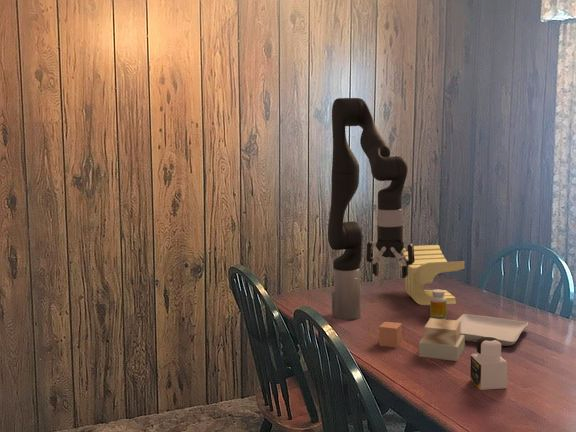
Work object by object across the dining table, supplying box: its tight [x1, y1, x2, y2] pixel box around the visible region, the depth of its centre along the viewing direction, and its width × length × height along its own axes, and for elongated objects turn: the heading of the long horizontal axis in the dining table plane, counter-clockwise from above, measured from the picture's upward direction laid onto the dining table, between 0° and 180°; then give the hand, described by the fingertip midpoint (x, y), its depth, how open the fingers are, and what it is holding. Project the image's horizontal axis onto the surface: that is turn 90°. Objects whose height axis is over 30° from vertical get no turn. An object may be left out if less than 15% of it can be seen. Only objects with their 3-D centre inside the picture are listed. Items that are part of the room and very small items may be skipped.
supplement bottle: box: [429, 288, 448, 320], centre depth 226 cm, size 5×5×10 cm
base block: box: [418, 335, 466, 362], centre depth 194 cm, size 11×11×4 cm
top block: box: [423, 317, 461, 345], centre depth 193 cm, size 9×9×4 cm
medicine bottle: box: [470, 337, 509, 391], centre depth 170 cm, size 7×7×12 cm
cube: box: [378, 321, 403, 348], centre depth 202 cm, size 6×6×6 cm
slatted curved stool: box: [398, 244, 465, 306], centre depth 248 cm, size 30×16×18 cm, turn 4°
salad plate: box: [456, 313, 529, 347], centre depth 208 cm, size 21×21×3 cm
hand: (390, 276), depth 200 cm, fingers open, 8 cm apart
